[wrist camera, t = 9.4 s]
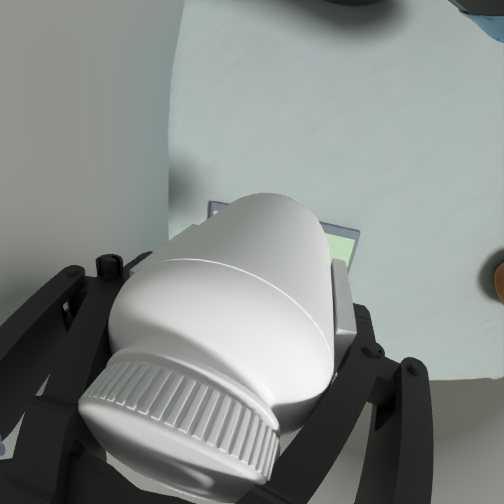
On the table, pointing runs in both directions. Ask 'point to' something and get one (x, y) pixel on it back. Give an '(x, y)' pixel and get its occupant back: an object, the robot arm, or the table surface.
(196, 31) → the table surface
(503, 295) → the bread roll
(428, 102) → the table surface
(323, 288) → the pill bottle
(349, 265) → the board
